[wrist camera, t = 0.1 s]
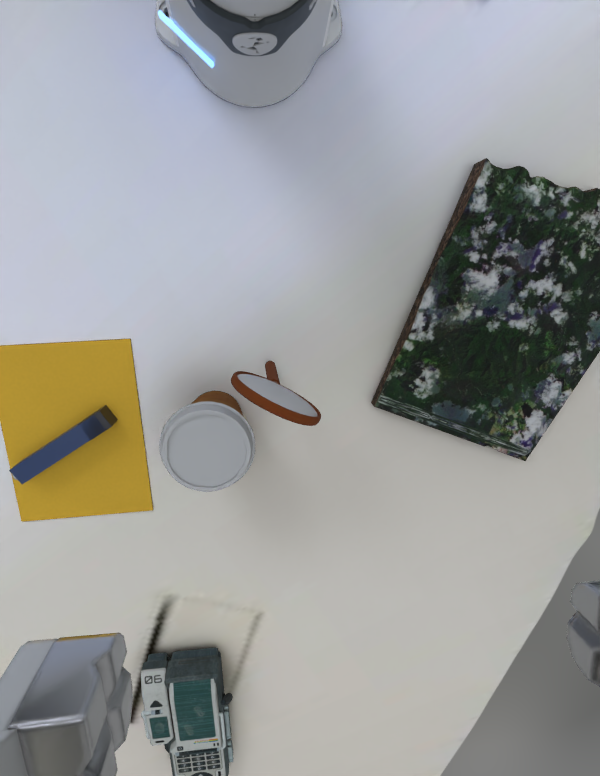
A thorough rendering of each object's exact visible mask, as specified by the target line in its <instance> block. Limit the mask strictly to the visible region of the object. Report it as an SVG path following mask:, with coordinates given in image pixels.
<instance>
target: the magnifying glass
mask: <svg viewBox="0 0 600 776" xmlns="http://www.w3.org/2000/svg"><path fill="white" fill-rule="evenodd" d="M265 368H266V375H267V378H264V377H262V376H259V375H256V374H253V373H249V372H243V371H238V372H235V373H234V374H233V376H232V378H231V383H232V385H233V387H234V388H235V389H236V390H237V391H238V392H239V393H240V394H241V395H243V396H244V397H245V398H247V399H248V400H250V401H251V402H253V403H254V404H256V405H258V406H259V407H261V408H263V409H265V410H267V411H268V412H270V413H272V414H275V415H277V416H279V417H281V418H284V419H286V420H289V421H292V422H295V423H298V424H302V425H308V426H313V425H316V424H318V422H319V421H320V419H321V414H320V412H319V411H318V409H317V408H316V407H315V406H314V405H312V404H311V403H310V402H309V401H307V400H306V399H304V398H303V397H301V396H300V395H298V394H297V393H295V392H293V391H291V390H290V389H288V388H286V387H284V386H282V385H280V382H279V378H278V374H277V370H276V367H275V363H274V362H272V361H268V362H267V363H266V364H265Z"/></svg>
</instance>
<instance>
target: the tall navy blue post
mask: <svg viewBox="0 0 600 776" xmlns="http://www.w3.org/2000/svg"><path fill="white" fill-rule="evenodd" d="M117 420H118V419H117V418H116V417H115V415H114V414H113V413H112V412H111V410H110V409H109V408H108V407H107V405H105V406H103V407H102V408H100V409H99V410H97V411H96V412H94V413H92V414H91V415H89V416H88V417H86V418H85V419H84V420H83V421H81V422H80V423H78V424H77V425H75V426H73V427H72V428H70V429H69V430H67V431H66V432H64V433H63V434H61V435H60V436H58V437H57V438H55V439H54V440H52V441H51V442H49V443H48V444H46V445H44V446H43V447H41V448H40V449H38V450H37V451H35V452H34V453H32V454H31V455H29V456H28V457H26V458H25V459H23V460H22V461H20V462H19V463H18V464H16V465H15V466H14V467H13V468H11V469H10V470H9V471H10V472H11V473H12V476H13V478H14V479H15V480H18V481H19V482H20V483H21V484H24V483H26V482H27V481H29V480H30V479H32V478H33V477H35V476H36V475H38V474H39V473H41V472H42V471H44V470H45V469H47V468H49V467H50V466H52V465H53V464H55V463H56V462H58V461H59V460H61V459H62V458H64V457H65V456H67V455H68V454H70V453H71V452H73V451H75V450H76V449H78V448H79V447H81V446H82V445H84V444H85V443H87V442H88V441H90V440H92V439H94V438H95V437H97V436H98V435H100V434H101V433H103V432H104V431H106V430H108V429H109V428H111V427H112V426H113V425H114V424H115V423H116V422H117Z"/></svg>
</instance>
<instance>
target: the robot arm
mask: <svg viewBox="0 0 600 776" xmlns="http://www.w3.org/2000/svg"><path fill="white" fill-rule="evenodd" d="M167 11H168V14H169V17H167V16H166V15H165V14H166V12H167ZM155 26H156V31H157V34H158V36H159V38H160V39H161V40H162V41H163V42H164V43H165V44H166V45H167V46H169V47H170V48H172V49H173V50H174V51H176V52H177V53H179V54H180V55H182V56H183V58H184V59H185V60H186V61H187V63H188V64H189V65H190V67H191V68H192V70H193V71H194V73H195V74H196V76H197V77H198V78H199V79H200V81H201V82H202V83H203V84H204V85H205V86H206V87H207V88H208V89H209V90H210V91H212V92H213V93H214V94H216V95H217V96H219V97H220V98H222V99H224V100H226V101H228V102H230V103H233V104H236V105H240V106H245V107H263V106H269V105H272V104H275V103H278V102H280V101H282V100H284V99H286V98H287V97H289V96H290V95H292V94H293V93H294V92H295V91H296V90H297V89H298V88H299V87H300V86H301V85H302V84H303V83H304V81H305V80H306V79H307V77H308V75H309V74H310V72H311V70H312V68H313V66H314V64H315V63H316V61H317V59H318V58H319V57H320V55H322V54H323V53H324V52H326V51H327V50H328V49H330V48H331V47H332V46H333V45H334V44H335V43H336V42H337V41H338V40H339V38H340V36H341V31H342V21H341V15H340V10H339V4H338V0H157V3H156V17H155ZM570 602H571V604H572V605H573V606H574V608H575V609H576V611H577V612H576V613H575V614H574V615H573V617H572V618H571V619H570V620H569V622H568V627H567V641H568V645H569V648H570V652H571V655H572V657H573V659H574V661H575V663H576V664H577V666H578V668H579V669H580V670H581V672H582V673H583V674H584V675H585V677H586V678H587V679H588V680H589V681H591V682H593V683H594V684H596V685H598V686H599V687H600V580H598V581H590V582H581V583H576V585H575V586H574V588H573V589H572V593H571V600H570ZM126 653H127V650H126V645H125V640H124V636H123V635H122V634H120V633H111V634H99V635H87V636H75V637H64V638H59V639H47V640H35V641H28V642H27V643H25V644H24V645H23V646H21V647H20V648H19V650H18V651H17V653H16V655H15V656H14V658H13V659H12V661H11V663H10V664H9V666H8V667H7V669H6V670H5V672H4V674H3V675H2V677H1V678H0V776H116V773H117V764H116V758H115V751H116V750H117V749H118V748H119V747H120V746H121V745H122V744H123V742H124V741H125V740H126V736H127V732H128V728H129V724H130V719H131V710H132V702H133V697H132V681H131V674H130V673H129V672H128V671H127V670H126V669H125V668H123V667H122V666H123V663H124V660H125V657H126Z"/></svg>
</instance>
